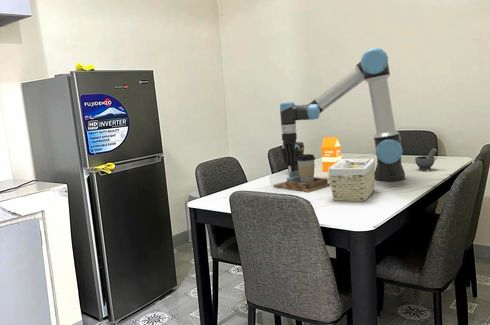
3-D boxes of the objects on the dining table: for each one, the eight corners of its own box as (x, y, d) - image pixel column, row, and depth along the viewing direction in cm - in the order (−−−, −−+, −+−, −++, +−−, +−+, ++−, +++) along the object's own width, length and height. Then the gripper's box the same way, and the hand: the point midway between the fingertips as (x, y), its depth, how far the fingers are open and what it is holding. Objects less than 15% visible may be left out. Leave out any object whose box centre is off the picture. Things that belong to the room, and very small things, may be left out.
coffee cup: (316, 186, 207) (314, 156, 205) (297, 187, 209) (295, 157, 207) (317, 182, 216) (315, 153, 214) (298, 183, 218) (296, 154, 216)
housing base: (330, 186, 212) (329, 178, 211) (308, 192, 202) (308, 184, 201) (295, 181, 230) (294, 174, 230) (273, 187, 220) (273, 180, 220)
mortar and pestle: (413, 171, 231) (412, 149, 230) (417, 168, 239) (417, 147, 237) (435, 171, 225) (435, 149, 223) (439, 168, 233) (438, 147, 231)
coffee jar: (307, 171, 256) (305, 141, 253) (302, 174, 249) (300, 142, 246) (292, 171, 260) (290, 141, 257) (287, 174, 253) (285, 143, 251)
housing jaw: (306, 181, 220) (305, 169, 219) (291, 185, 214) (290, 173, 213) (302, 180, 223) (301, 169, 222) (287, 184, 216) (286, 173, 215)
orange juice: (336, 172, 247) (334, 137, 244) (322, 171, 253) (320, 138, 250) (341, 169, 253) (340, 136, 250) (328, 169, 259) (326, 136, 256)
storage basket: (366, 202, 176) (365, 167, 173) (328, 201, 183) (326, 167, 181) (377, 189, 197) (376, 158, 194) (342, 189, 204) (341, 158, 202)
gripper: (274, 133, 220) (278, 178, 223) (293, 133, 210) (296, 180, 213) (285, 131, 224) (288, 175, 228) (303, 131, 214) (306, 177, 218)
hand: (292, 177), depth 220 cm, fingers closed
